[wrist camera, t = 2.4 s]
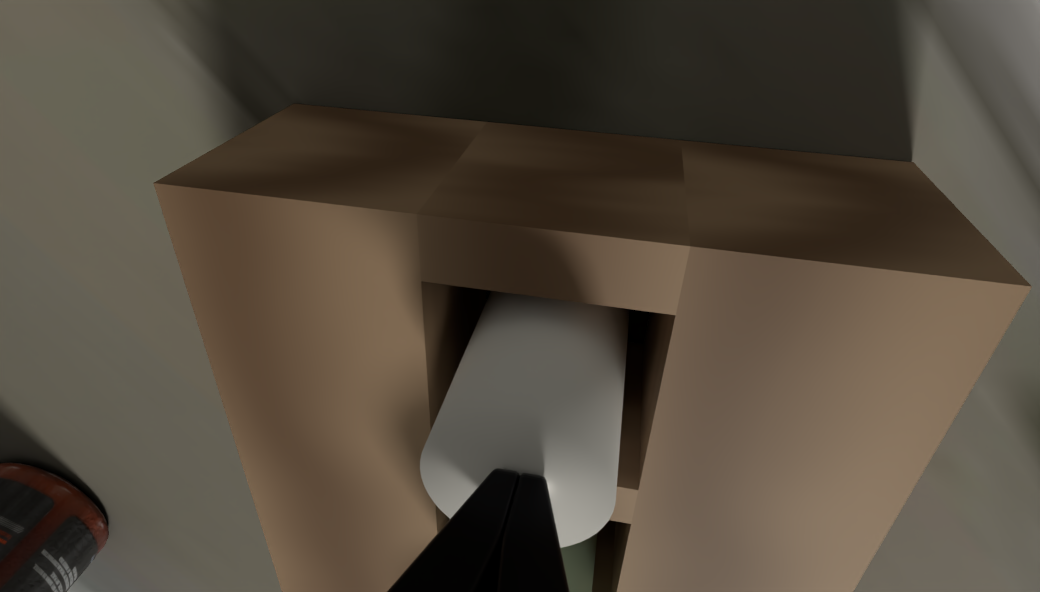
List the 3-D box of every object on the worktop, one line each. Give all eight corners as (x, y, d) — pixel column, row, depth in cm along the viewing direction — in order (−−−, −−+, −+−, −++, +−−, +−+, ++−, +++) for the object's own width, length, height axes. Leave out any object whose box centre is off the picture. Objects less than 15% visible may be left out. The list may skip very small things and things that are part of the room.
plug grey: (640, 238, 14) (628, 432, 9) (622, 351, 15) (603, 564, 11) (500, 222, 14) (413, 396, 9) (497, 333, 16) (424, 530, 11)
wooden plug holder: (912, 162, 13) (1032, 286, 9) (725, 623, 23) (740, 783, 19) (293, 103, 15) (154, 182, 11) (369, 552, 25) (311, 683, 21)
